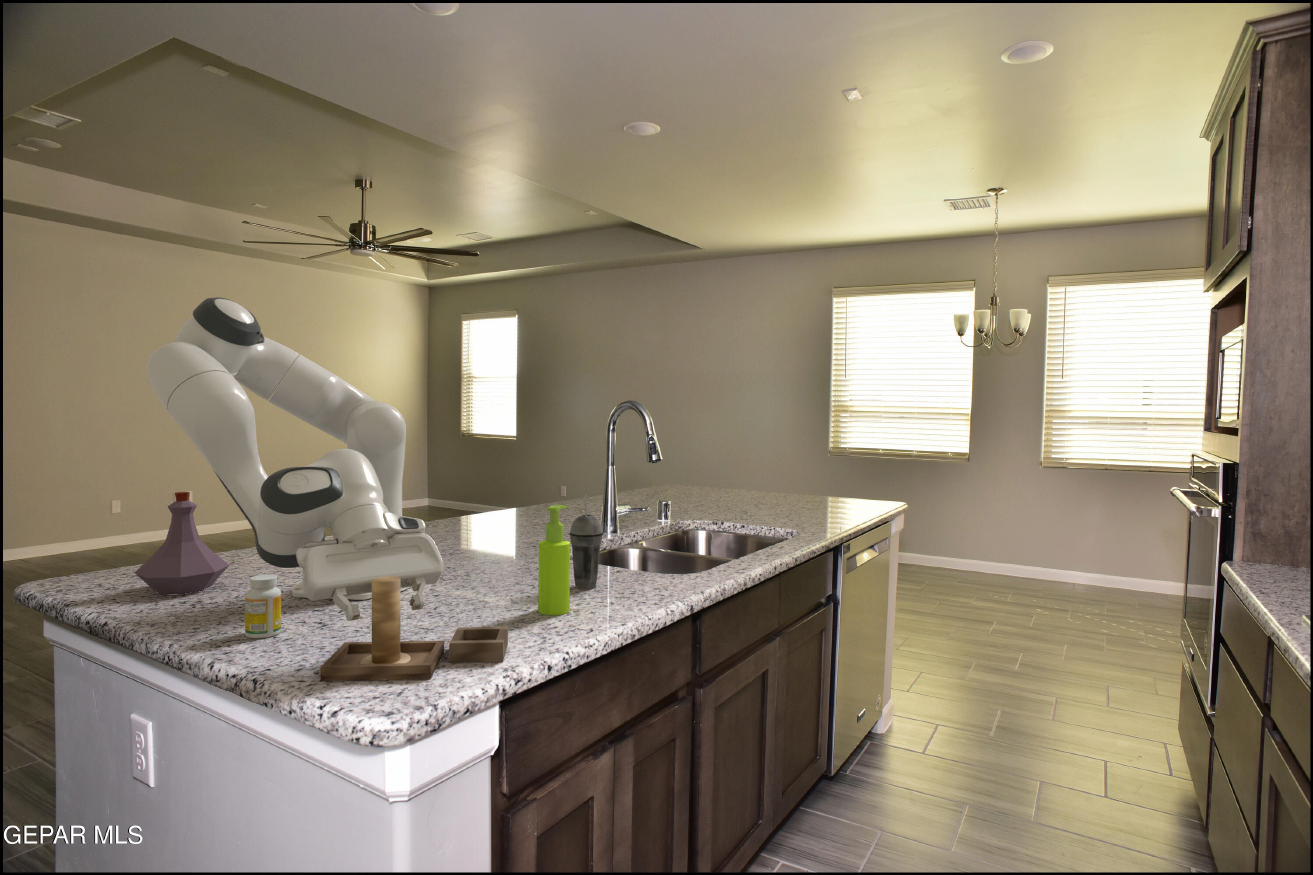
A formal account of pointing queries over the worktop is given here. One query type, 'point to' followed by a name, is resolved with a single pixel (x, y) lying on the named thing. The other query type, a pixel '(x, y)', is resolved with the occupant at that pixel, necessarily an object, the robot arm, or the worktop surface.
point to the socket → (478, 644)
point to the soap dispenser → (554, 567)
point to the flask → (182, 555)
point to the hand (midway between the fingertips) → (387, 612)
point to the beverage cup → (586, 549)
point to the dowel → (386, 620)
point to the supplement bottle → (263, 607)
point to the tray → (358, 666)
